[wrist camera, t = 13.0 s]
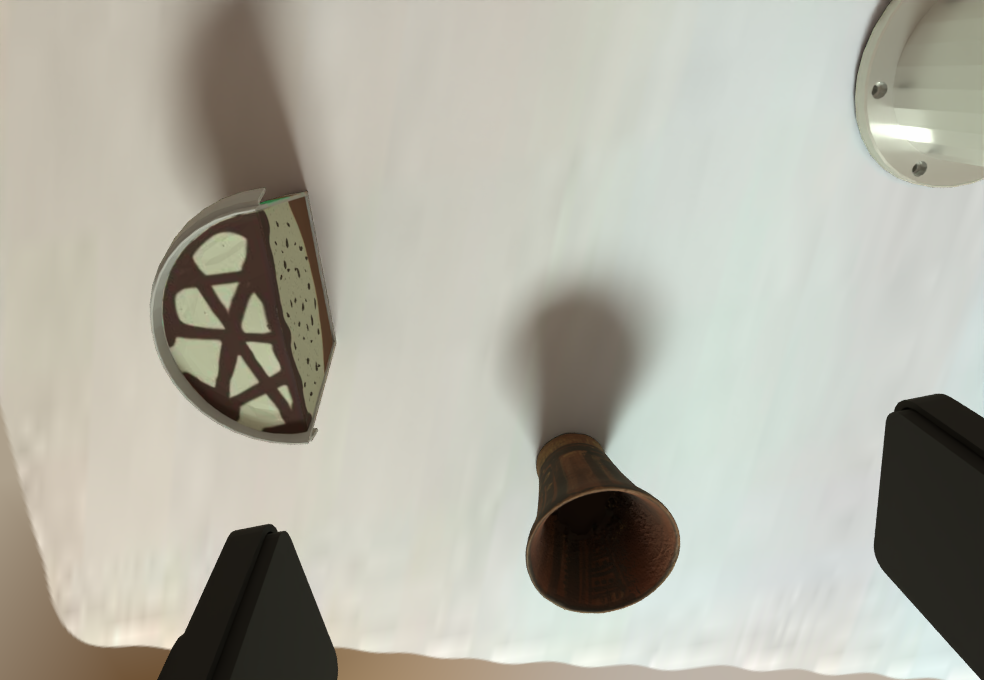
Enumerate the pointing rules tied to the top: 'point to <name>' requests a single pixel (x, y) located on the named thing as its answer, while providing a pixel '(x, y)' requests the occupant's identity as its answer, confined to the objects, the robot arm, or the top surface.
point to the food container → (247, 316)
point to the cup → (596, 531)
